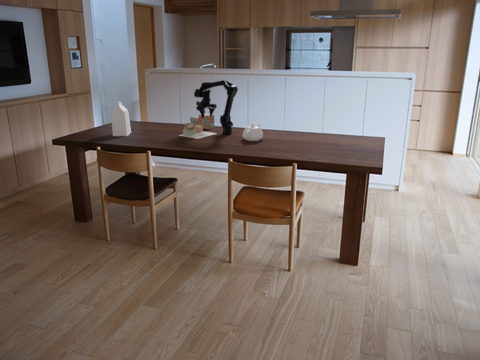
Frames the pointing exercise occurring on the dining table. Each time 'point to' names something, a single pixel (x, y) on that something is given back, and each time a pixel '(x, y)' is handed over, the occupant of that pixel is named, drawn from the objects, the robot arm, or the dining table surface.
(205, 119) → the stack of blocks
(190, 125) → the beech cube
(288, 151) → the dining table surface
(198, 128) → the terracotta cube
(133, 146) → the dining table surface
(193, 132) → the pedestal
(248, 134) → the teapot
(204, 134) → the board
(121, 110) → the milk
